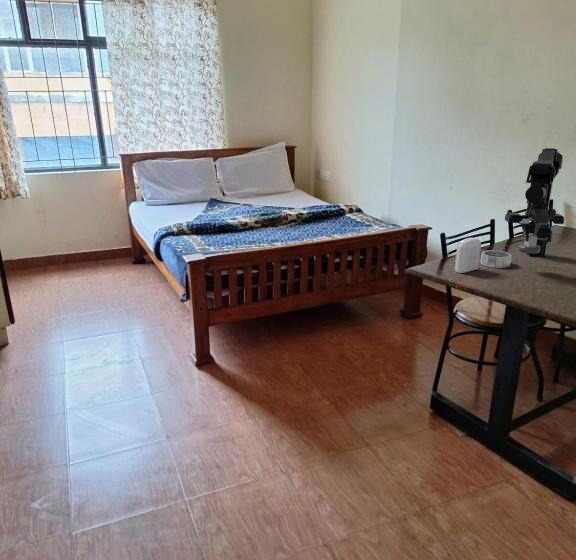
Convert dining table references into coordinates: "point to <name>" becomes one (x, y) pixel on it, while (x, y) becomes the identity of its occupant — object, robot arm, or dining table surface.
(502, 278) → the dining table surface
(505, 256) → the faceted white dish
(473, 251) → the photo printer
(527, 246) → the grey knob
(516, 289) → the dining table surface
